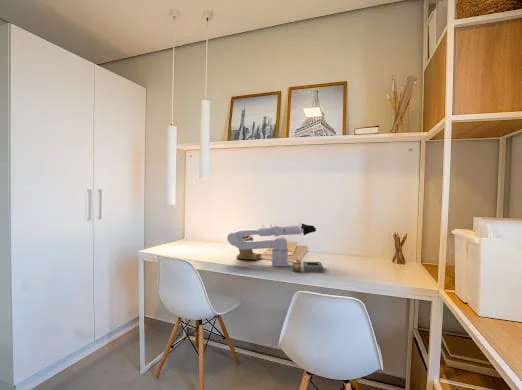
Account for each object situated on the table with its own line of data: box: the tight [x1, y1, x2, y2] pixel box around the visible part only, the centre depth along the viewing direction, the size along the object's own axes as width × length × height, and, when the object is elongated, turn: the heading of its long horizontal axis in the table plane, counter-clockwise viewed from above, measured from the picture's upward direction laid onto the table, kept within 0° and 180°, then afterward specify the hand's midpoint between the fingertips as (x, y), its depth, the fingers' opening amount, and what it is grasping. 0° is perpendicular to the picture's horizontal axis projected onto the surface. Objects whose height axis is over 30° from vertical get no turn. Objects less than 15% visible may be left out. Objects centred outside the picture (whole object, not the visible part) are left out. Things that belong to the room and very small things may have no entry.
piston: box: [292, 258, 302, 274], centre depth 152 cm, size 5×5×6 cm
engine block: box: [302, 261, 324, 273], centre depth 156 cm, size 10×10×3 cm
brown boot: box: [236, 235, 263, 260], centre depth 178 cm, size 15×12×15 cm
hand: (314, 228), depth 164 cm, fingers open, 7 cm apart
